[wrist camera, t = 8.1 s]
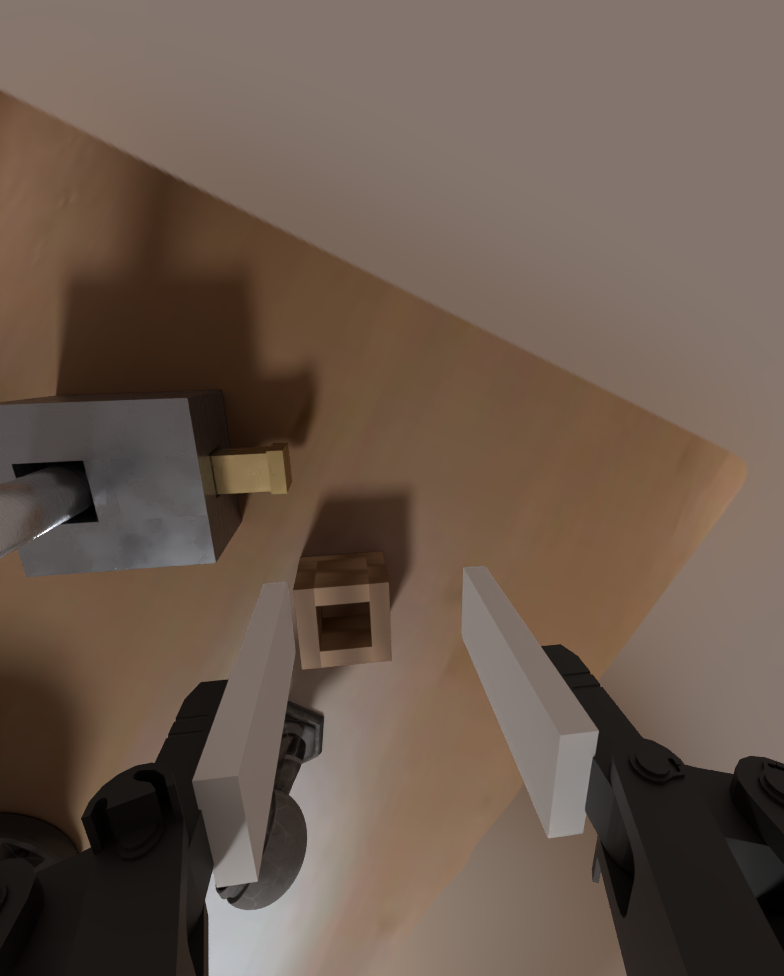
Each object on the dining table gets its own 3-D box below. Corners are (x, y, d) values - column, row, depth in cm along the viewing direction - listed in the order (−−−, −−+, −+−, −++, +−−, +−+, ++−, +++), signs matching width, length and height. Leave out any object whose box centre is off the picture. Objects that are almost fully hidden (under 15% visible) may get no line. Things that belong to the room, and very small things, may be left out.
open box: (307, 627, 42) (302, 669, 37) (300, 557, 40) (292, 590, 34) (385, 620, 43) (391, 660, 37) (382, 551, 41) (388, 582, 35)
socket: (241, 522, 38) (215, 562, 31) (91, 532, 37) (26, 577, 29) (221, 389, 35) (187, 397, 27) (55, 395, 33) (-30, 405, 26)
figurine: (264, 689, 44) (226, 848, 30) (342, 725, 46) (341, 886, 32) (223, 745, 45) (168, 920, 31) (301, 776, 48) (283, 952, 34)
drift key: (291, 481, 35) (287, 493, 32) (179, 488, 34) (163, 500, 31) (287, 442, 34) (282, 450, 31) (171, 448, 33) (154, 456, 30)
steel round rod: (93, 490, 35) (-147, 615, 18) (82, 447, 34) (-185, 536, 17) (139, 488, 35) (-53, 608, 18) (130, 445, 34) (-84, 530, 17)
